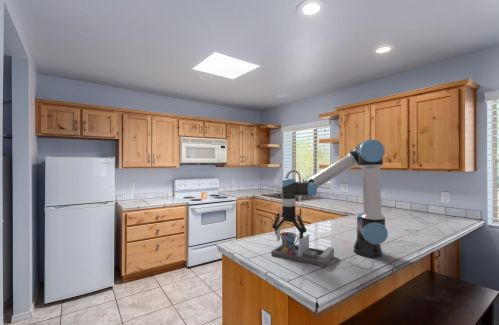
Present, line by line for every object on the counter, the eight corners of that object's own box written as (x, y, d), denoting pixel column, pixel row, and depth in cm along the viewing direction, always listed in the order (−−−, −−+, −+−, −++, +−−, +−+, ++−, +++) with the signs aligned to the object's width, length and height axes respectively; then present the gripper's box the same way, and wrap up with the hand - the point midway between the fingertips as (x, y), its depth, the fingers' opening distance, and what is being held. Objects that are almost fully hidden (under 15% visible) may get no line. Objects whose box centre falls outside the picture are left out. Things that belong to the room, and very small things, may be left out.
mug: (286, 257, 139) (286, 237, 139) (276, 251, 147) (276, 233, 147) (303, 253, 145) (303, 234, 145) (293, 248, 153) (293, 230, 153)
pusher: (319, 253, 144) (319, 236, 144) (311, 262, 132) (311, 242, 132) (307, 251, 148) (307, 234, 148) (298, 259, 136) (298, 240, 136)
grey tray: (333, 256, 142) (333, 247, 142) (325, 267, 127) (325, 257, 127) (284, 246, 157) (284, 238, 157) (271, 255, 143) (271, 246, 143)
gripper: (312, 206, 143) (312, 244, 143) (272, 202, 156) (272, 237, 156) (307, 208, 137) (307, 248, 137) (266, 204, 150) (266, 240, 150)
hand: (289, 242), depth 147 cm, fingers open, 13 cm apart
